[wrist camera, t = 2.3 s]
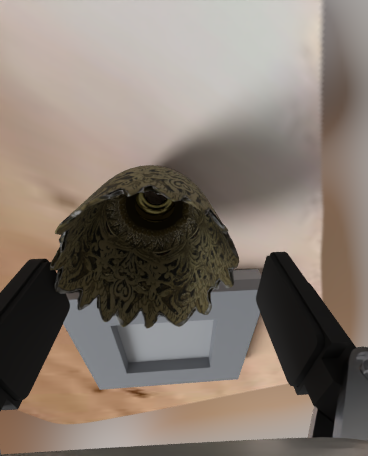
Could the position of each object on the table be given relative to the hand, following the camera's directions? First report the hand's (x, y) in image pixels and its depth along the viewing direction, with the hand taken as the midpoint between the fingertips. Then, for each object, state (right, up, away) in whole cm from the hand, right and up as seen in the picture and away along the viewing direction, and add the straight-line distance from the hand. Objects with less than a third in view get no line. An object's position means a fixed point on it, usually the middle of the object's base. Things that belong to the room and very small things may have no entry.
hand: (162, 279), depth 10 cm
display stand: (-1, -9, +15) cm, 18 cm away
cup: (-1, +5, +6) cm, 8 cm away
